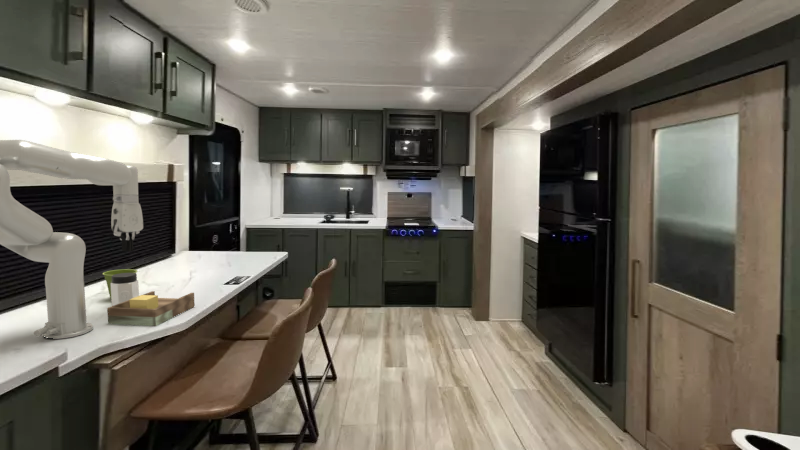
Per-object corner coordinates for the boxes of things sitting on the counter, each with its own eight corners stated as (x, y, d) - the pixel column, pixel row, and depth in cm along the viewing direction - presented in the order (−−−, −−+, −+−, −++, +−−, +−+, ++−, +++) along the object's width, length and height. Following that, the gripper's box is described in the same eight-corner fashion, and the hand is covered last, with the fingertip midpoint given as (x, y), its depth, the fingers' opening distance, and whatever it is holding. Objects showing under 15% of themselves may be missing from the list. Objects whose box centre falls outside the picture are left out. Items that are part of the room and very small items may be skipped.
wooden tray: (155, 326, 142) (155, 309, 142) (108, 324, 144) (107, 308, 143) (194, 306, 165) (194, 292, 164) (152, 305, 166) (152, 291, 166)
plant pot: (122, 304, 168) (121, 275, 167) (96, 302, 170) (94, 274, 169) (145, 296, 179) (144, 269, 178) (120, 294, 181) (119, 268, 180)
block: (147, 314, 145) (146, 300, 144) (130, 313, 145) (129, 299, 145) (158, 309, 151) (157, 295, 150) (142, 308, 151) (141, 294, 151)
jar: (111, 309, 160) (109, 278, 159) (111, 304, 167) (110, 274, 165) (139, 306, 165) (138, 275, 164) (138, 301, 172) (137, 271, 170)
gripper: (118, 200, 146) (120, 254, 147) (150, 200, 161) (152, 248, 162) (99, 200, 147) (101, 253, 149) (132, 199, 162) (134, 248, 163)
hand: (127, 250), depth 155 cm, fingers closed
